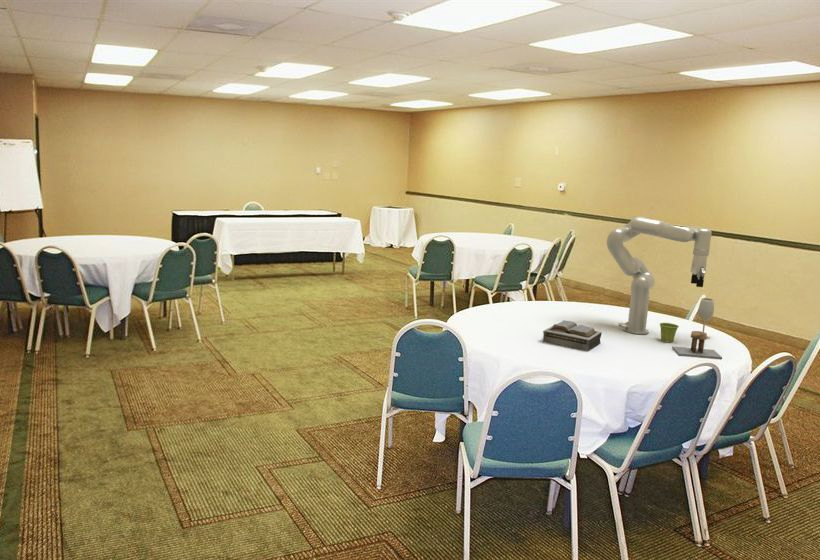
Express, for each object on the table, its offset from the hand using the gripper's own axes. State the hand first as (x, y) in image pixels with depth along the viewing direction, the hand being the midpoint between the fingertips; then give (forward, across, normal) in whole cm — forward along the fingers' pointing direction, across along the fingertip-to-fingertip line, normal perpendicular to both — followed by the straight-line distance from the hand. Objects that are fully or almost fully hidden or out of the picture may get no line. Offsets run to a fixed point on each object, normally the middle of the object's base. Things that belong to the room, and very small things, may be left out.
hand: (696, 285), depth 341 cm
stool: (+29, +24, -3) cm, 38 cm away
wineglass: (+31, -12, +10) cm, 34 cm away
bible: (+31, +23, -63) cm, 74 cm away
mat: (+30, +24, -3) cm, 39 cm away
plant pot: (+31, +3, -12) cm, 33 cm away
